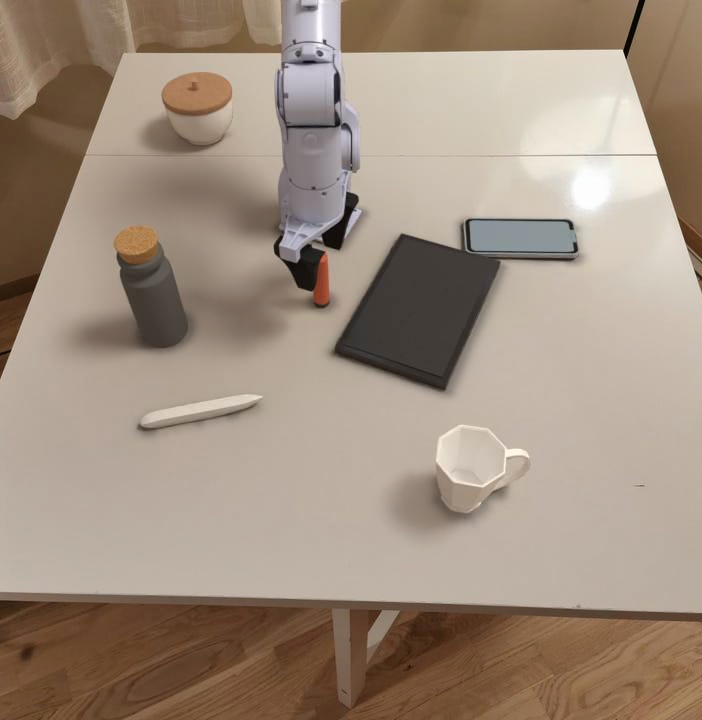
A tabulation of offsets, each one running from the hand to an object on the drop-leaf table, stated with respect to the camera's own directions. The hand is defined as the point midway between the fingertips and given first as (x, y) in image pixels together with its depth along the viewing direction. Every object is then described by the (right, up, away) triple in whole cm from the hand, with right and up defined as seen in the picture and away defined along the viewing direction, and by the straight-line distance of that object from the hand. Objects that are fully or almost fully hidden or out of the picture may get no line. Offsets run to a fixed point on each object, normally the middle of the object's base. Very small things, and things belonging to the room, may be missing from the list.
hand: (319, 266), depth 85 cm
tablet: (+13, -5, +4) cm, 14 cm away
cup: (+16, -25, -12) cm, 32 cm away
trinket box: (-19, +25, +29) cm, 43 cm away
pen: (-13, -18, -5) cm, 23 cm away
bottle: (-19, -8, +3) cm, 21 cm away
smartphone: (+27, +5, +11) cm, 30 cm away
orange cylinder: (0, -4, +5) cm, 6 cm away
